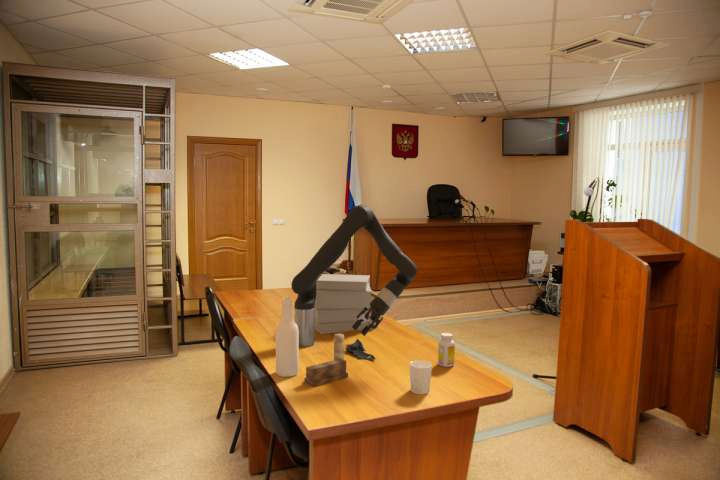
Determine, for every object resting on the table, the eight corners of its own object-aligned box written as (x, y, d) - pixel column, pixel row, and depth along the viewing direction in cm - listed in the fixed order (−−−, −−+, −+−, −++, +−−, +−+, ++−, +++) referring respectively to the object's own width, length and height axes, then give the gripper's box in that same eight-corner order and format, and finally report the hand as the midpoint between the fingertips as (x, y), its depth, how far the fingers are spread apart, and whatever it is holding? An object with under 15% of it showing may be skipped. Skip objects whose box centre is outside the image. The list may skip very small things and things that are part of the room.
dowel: (331, 368, 200) (332, 334, 199) (339, 366, 203) (340, 333, 201) (337, 371, 197) (337, 337, 196) (345, 369, 200) (346, 335, 198)
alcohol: (273, 371, 197) (272, 296, 194) (294, 368, 200) (294, 295, 197) (279, 379, 189) (278, 301, 186) (301, 375, 192) (301, 299, 189)
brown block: (312, 386, 182) (312, 370, 181) (304, 381, 187) (304, 366, 186) (348, 377, 192) (348, 361, 191) (339, 372, 196) (339, 357, 196)
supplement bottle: (455, 363, 209) (456, 333, 207) (452, 368, 202) (453, 337, 201) (439, 361, 211) (440, 331, 209) (436, 366, 204) (437, 335, 203)
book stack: (302, 321, 270) (302, 275, 268) (361, 315, 285) (361, 271, 282) (321, 337, 243) (321, 285, 240) (385, 329, 257) (385, 280, 255)
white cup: (407, 386, 183) (407, 360, 182) (428, 386, 183) (429, 360, 182) (411, 395, 175) (411, 368, 174) (433, 395, 176) (434, 367, 175)
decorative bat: (338, 334, 234) (358, 334, 237) (337, 342, 235) (358, 342, 237) (354, 354, 206) (377, 354, 209) (354, 364, 206) (376, 364, 209)
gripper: (370, 292, 211) (344, 321, 207) (385, 299, 198) (359, 330, 194) (381, 303, 213) (356, 332, 210) (397, 311, 201) (371, 342, 197)
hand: (357, 331), depth 202 cm, fingers open, 8 cm apart
